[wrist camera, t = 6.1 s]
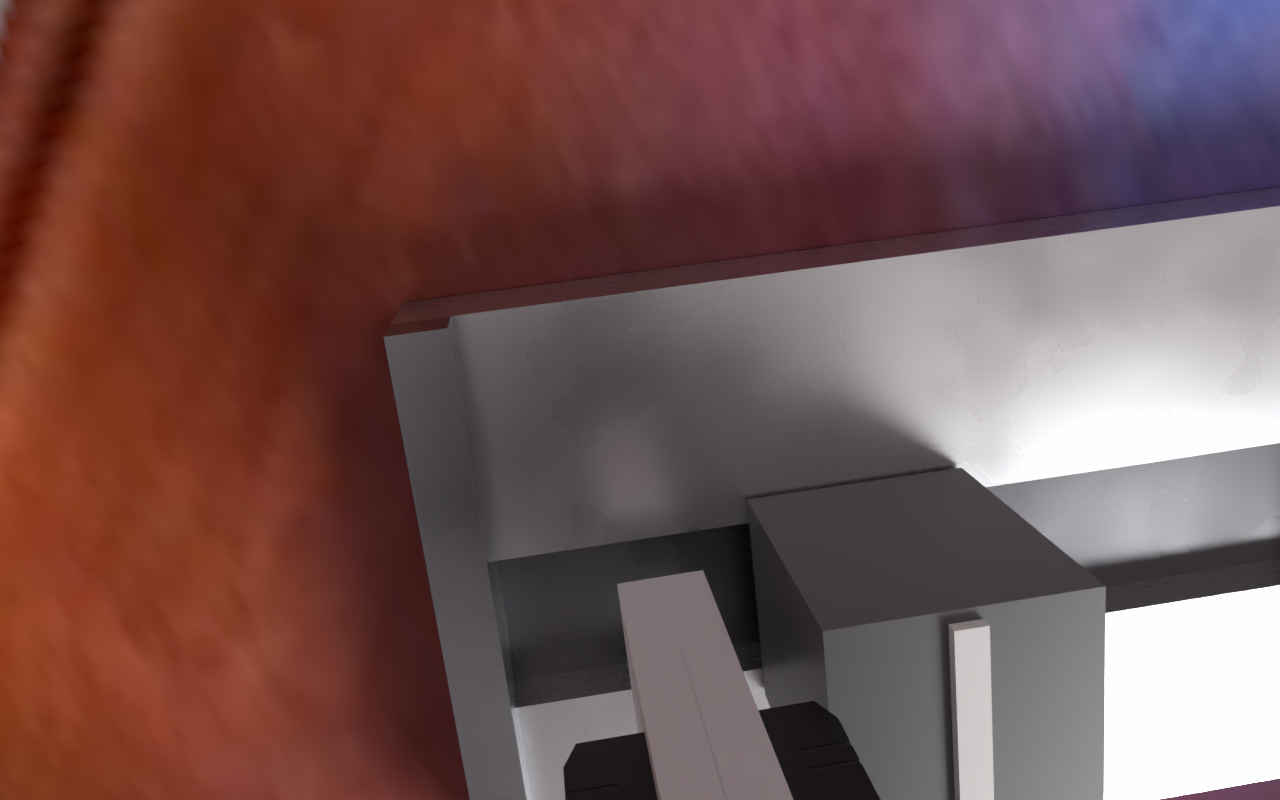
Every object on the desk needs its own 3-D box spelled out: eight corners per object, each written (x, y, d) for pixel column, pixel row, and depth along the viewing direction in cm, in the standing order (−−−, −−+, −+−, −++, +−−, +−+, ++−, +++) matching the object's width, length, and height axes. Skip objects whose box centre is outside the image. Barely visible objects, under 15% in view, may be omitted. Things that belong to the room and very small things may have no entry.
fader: (755, 671, 21) (844, 886, 15) (737, 483, 20) (826, 638, 14) (950, 640, 21) (1110, 839, 16) (943, 453, 20) (1113, 592, 14)
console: (501, 847, 23) (498, 953, 20) (403, 302, 20) (383, 336, 17) (1530, 671, 25) (1663, 746, 22) (1601, 144, 21) (1769, 151, 19)
